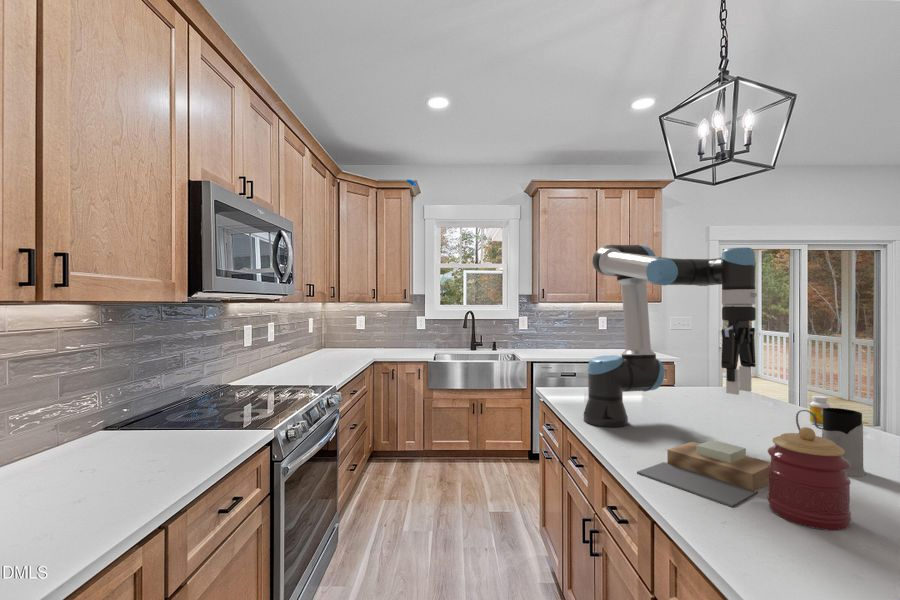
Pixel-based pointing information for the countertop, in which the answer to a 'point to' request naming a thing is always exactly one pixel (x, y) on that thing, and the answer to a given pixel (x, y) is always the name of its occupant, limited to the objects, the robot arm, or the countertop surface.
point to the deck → (721, 467)
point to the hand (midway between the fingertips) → (739, 392)
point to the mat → (699, 484)
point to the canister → (809, 481)
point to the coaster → (721, 451)
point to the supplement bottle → (818, 409)
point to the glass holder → (844, 435)
